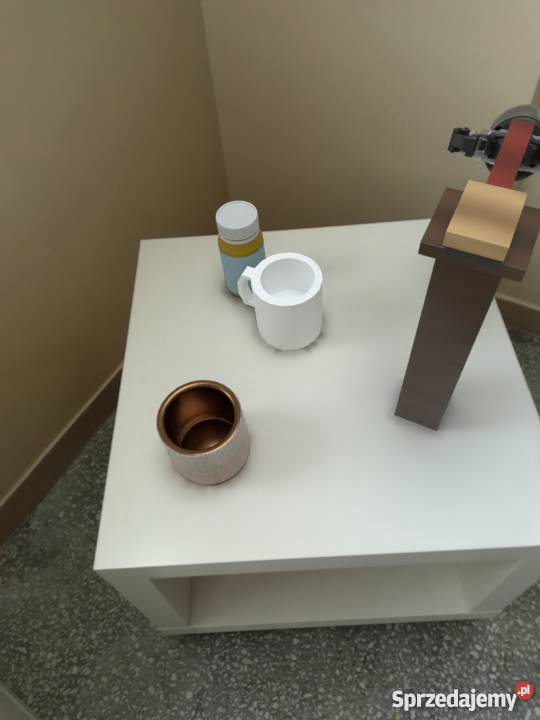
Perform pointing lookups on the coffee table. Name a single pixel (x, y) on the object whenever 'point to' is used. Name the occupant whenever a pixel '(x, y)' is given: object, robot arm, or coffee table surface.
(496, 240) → the brush
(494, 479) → the coffee table surface
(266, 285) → the mug
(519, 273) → the stand
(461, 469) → the coffee table surface
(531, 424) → the coffee table surface
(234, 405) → the planter
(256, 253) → the bottle
